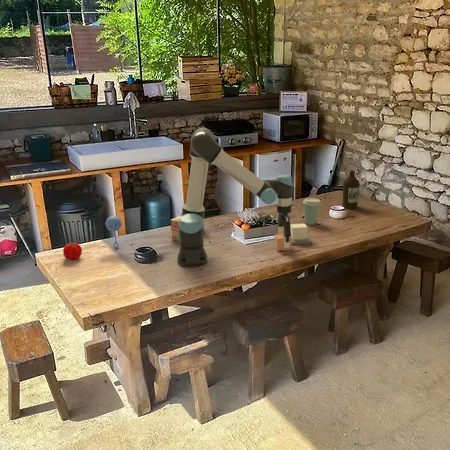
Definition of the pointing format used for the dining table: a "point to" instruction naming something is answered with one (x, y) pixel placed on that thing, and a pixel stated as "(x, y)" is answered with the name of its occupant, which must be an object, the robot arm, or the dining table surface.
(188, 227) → the robot arm
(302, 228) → the cream brick
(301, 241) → the slate pad
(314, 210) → the disposable coffee cup
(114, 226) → the baby rattle
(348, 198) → the olive oil
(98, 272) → the dining table surface
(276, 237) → the terracotta brick
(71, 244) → the tomato
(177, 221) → the printed cardboard box
